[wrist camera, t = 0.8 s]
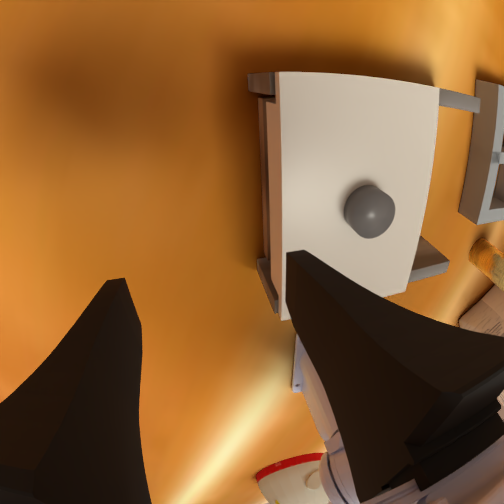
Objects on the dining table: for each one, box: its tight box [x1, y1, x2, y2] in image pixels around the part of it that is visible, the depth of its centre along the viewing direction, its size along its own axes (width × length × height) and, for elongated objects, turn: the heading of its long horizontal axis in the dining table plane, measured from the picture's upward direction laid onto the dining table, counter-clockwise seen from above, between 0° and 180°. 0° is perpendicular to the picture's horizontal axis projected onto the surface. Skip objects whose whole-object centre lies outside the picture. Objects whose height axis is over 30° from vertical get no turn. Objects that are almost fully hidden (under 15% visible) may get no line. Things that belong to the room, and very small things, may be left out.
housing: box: [248, 72, 481, 313], centre depth 17 cm, size 13×14×4 cm
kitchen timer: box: [256, 453, 329, 504], centre depth 41 cm, size 14×14×15 cm
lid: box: [266, 72, 440, 321], centre depth 15 cm, size 13×9×3 cm
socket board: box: [458, 79, 504, 225], centre depth 20 cm, size 12×7×2 cm, turn 2°
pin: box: [469, 238, 504, 292], centre depth 24 cm, size 3×3×6 cm
